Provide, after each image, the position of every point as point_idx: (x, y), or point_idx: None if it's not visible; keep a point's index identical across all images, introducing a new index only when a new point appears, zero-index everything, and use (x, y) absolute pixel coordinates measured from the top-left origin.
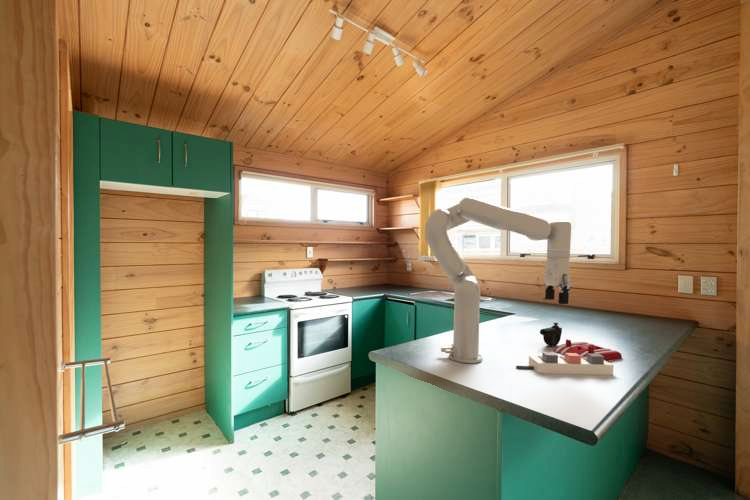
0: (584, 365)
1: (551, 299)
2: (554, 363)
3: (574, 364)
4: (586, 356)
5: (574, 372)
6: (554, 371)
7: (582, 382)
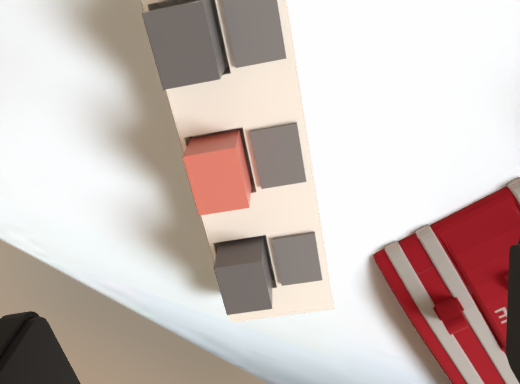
0: None
1: (516, 322)
2: None
3: None
4: (421, 274)
5: None
6: None
7: (87, 144)
